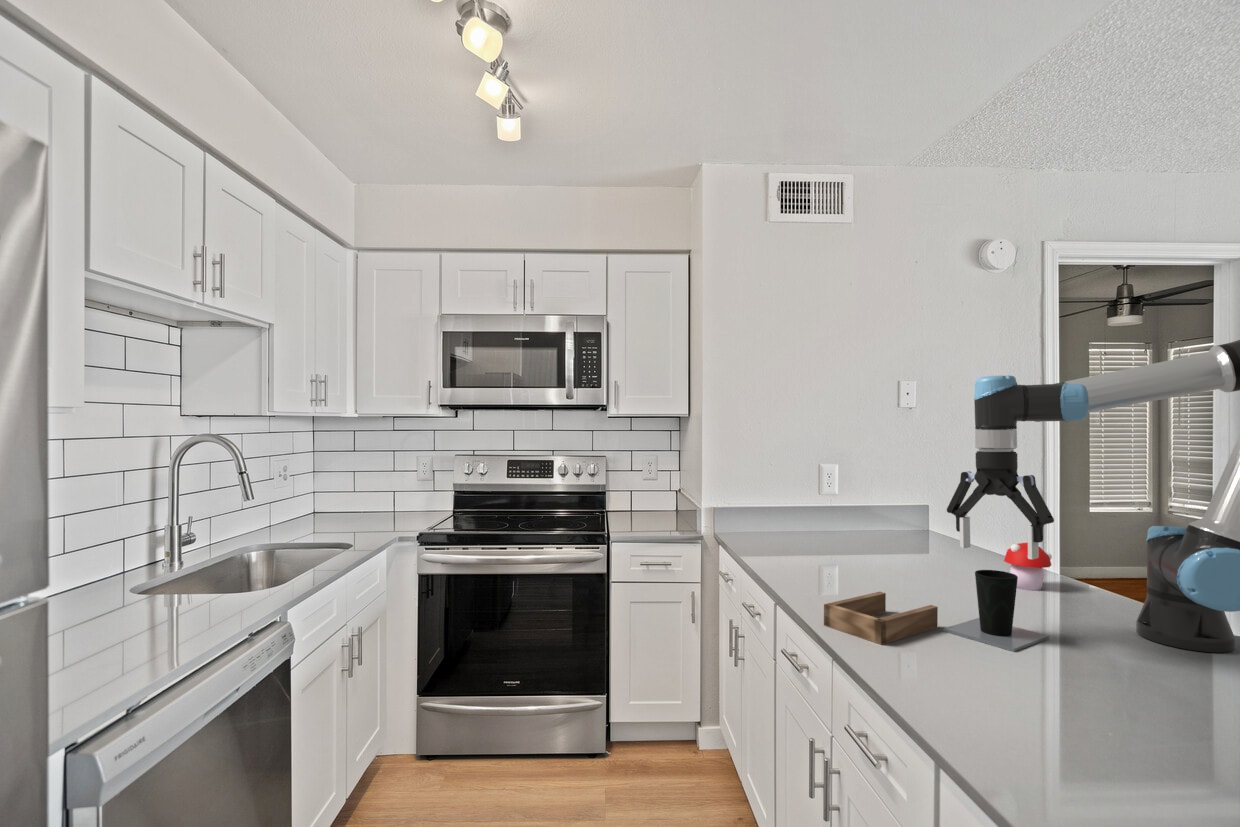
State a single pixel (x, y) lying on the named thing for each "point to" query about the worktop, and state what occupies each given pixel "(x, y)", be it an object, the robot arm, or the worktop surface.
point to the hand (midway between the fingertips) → (997, 552)
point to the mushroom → (1027, 566)
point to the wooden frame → (877, 619)
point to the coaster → (1012, 643)
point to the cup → (996, 601)
